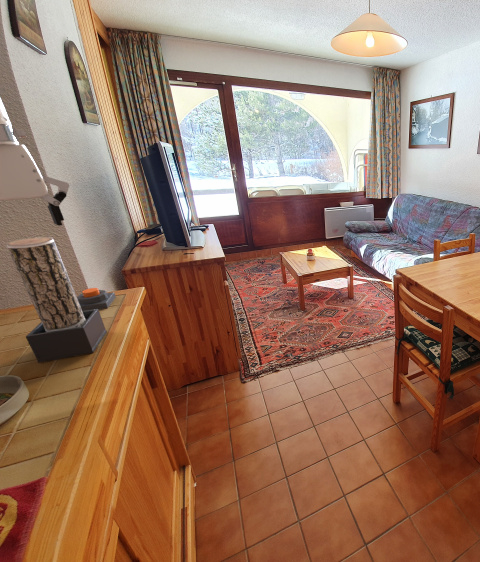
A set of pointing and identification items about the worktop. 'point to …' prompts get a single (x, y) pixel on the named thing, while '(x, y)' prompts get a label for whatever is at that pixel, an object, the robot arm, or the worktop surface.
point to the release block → (96, 301)
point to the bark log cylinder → (47, 282)
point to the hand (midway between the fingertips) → (26, 228)
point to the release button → (90, 292)
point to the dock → (67, 339)
